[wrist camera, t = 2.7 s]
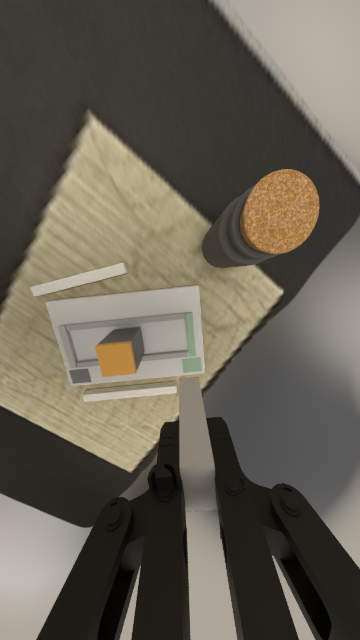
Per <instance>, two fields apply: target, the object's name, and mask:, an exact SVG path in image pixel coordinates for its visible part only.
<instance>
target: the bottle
mask: <svg viewBox="0 0 360 640" xmlns="http://www.w3.org/2000/svg"><path fill="white" fill-rule="evenodd" d="M318 213H319V197H318V194H317V190H316V188H315V186H314V184H313V182H312V181H311V180H310V179H309V178H308V177H307V176H306V175H304V174H302V173H301V172H299V171H296V170H291V169H283V170H278V171H275V172H272V173H270V174H268V175H267V176H265V177H264V178H262V179H261V180H260V181H259V182H258V183H257V184H256V185H254V186H253V187H251V188H250V189H248V190H247V191H246V192H245V193H244V194H243V195H241V196H239V197H237V198H236V199H235V200H233V201H232V202H231V203H230V204H229V205H228V206H227V208H226V209H225V210H224V211H223V213H222V214H221V215H220V216H219V218H218V219H217V220H216V222H215V223H214V224H213V226H212V227H211V228H210V230H209V231H208V232H207V234H206V236H205V238H204V240H203V246H202V248H203V254H204V257H205V258H206V260H207V261H208V262H209V263H210V264H211V265H213V266H215V267H220V268H226V267H237V266H247V265H254V264H258V263H260V262H262V261H264V260H266V259H268V258H271V257H274V256H277V255H279V254H281V253H286V252H289V251H291V250H293V249H295V248H296V247H298V246H299V245H300V244H302V243H303V242H304V241H305V240H306V239H307V237H308V236H309V235H310V233H311V232H312V230H313V228H314V226H315V224H316V221H317V218H318Z"/></svg>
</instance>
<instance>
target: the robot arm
mask: <svg viewBox="0 0 360 640" xmlns="http://www.w3.org/2000/svg"><path fill="white" fill-rule="evenodd" d="M148 483H149V489H148V490H147V491H146V492H145V493H144V494H142V495H141V496H139V497H137V498H135V499H133V500H130V501H128V500H127V499H126V498H124V497H117V498H115V499H113V500H111V501H110V502H109V503H107V504H106V505H105V506H104V508H103V509H102V511H101V512H100V514H99V516H98V518H97V520H96V522H95V524H94V526H93V528H92V530H91V532H90V534H89V536H88V538H87V540H86V542H85V544H84V546H83V548H82V550H81V552H80V554H79V556H78V558H77V560H76V562H75V564H74V566H73V568H72V570H71V572H70V574H69V576H68V578H67V580H66V582H65V584H64V586H63V588H62V590H61V592H60V594H59V596H58V598H57V600H56V602H55V604H54V606H53V608H52V610H51V612H50V614H49V616H48V618H47V620H46V622H45V624H44V626H43V628H42V630H41V632H40V633H39V636H38V637H37V639H36V640H119V639H120V635H121V632H122V628H123V625H124V621H125V617H126V614H127V610H128V607H129V603H130V600H131V596H132V592H133V589H134V585H135V582H136V578H137V574H138V571H139V567H140V566H141V570H140V577H139V585H138V593H137V600H136V608H135V616H134V624H133V632H132V639H131V640H190V616H189V586H188V585H189V583H188V552H187V528H186V515H185V512H191V511H203V510H217V509H218V514H219V522H220V537H221V539H222V544H223V550H224V557H225V563H226V569H227V576H228V582H229V589H230V595H231V601H232V608H233V614H234V620H235V626H236V633H237V639H238V640H299V638H298V636H297V632H296V629H295V626H294V623H293V620H292V617H291V614H290V611H289V608H288V605H287V601H286V599H285V595H284V592H283V589H282V586H281V583H280V580H279V577H278V574H277V571H276V568H275V565H274V562H273V558H272V555H273V556H274V557H275V559H276V561H277V563H278V565H279V567H280V569H281V571H282V573H283V575H284V577H285V579H286V581H287V583H288V585H289V587H290V589H291V591H292V593H293V595H294V597H295V599H296V601H297V603H298V605H299V607H300V609H301V611H302V613H303V615H304V617H305V619H306V621H307V623H308V625H309V627H310V629H311V631H312V633H313V635H314V637H315V639H316V640H360V569H359V567H358V566H357V565H356V564H355V562H354V561H353V560H352V558H351V557H350V556H349V554H348V553H347V552H346V551H345V549H344V548H343V547H342V545H341V544H340V543H339V541H338V540H337V539H336V538H335V536H334V535H333V534H332V532H331V531H330V530H329V528H328V527H327V526H326V525H325V523H324V522H323V521H322V519H321V518H320V517H319V515H318V514H317V513H316V512H315V510H314V509H313V508H312V506H311V505H310V504H309V503H308V501H307V500H306V499H305V497H304V496H303V495H302V494H301V493H300V492H299V491H298V490H297V489H295V488H294V487H292V486H290V485H287V484H284V483H282V484H276V485H275V486H274V487H273V488H272V489H269V488H266V487H262V486H259V485H257V484H254V483H253V482H251V481H250V480H249V479H248V478H247V477H246V476H245V475H244V474H243V472H242V470H241V468H240V465H239V462H238V459H237V455H236V452H235V450H234V446H233V443H232V440H231V437H230V433H229V430H228V427H227V424H226V422H225V421H224V420H223V419H222V418H221V417H214V418H206V416H205V411H204V405H203V400H202V394H201V389H200V384H199V378H198V377H193V378H182V379H179V421H175V422H165V423H164V425H163V427H162V428H161V431H160V440H159V448H158V457H157V464H156V465H155V466H153V468H152V469H151V471H150V472H149V475H148Z"/></svg>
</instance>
